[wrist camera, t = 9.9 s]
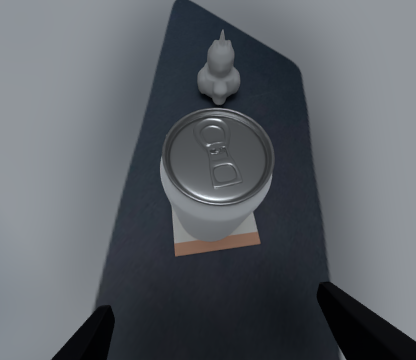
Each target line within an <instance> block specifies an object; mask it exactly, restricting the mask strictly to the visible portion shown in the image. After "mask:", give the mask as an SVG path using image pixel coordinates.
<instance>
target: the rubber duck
mask: <svg viewBox="0 0 416 360" xmlns="http://www.w3.org/2000/svg"><path fill="white" fill-rule="evenodd" d="M233 61H234V50H233V48H232V46H231V42H230V40H228V41H225V37H224V31H223V30H222V32H221V36H220V40H215V41H214V42H213V44H212V46H211V47H210V48H209V50H208V59H207V63H206V64H205V66H204V68H202V69H201V70H200V71H199V73H198V88H199V91H200V92H201V93H202V94H206V95H207V96H209V97H211V98H212V99H213V102H214V103H215V104H217V105H222V104H223V103H224V102H225V100H226V97H228V96H230V95H231V94H235V93H236V92H237V91H238V89H239V86H240V76H239V73H238V71H237V70H236V69H235V68H234V67H233Z"/></svg>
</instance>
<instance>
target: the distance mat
mask: <svg viewBox="0 0 416 360" xmlns="http://www.w3.org/2000/svg"><path fill="white" fill-rule="evenodd" d="M172 216H173V230H174V245H175V256H182V255H189V254H195V253H202V252H209V251H216V250H222V249H229V248H236V247H242V246H249V245H256V244H260V239H259V235H258V231H257V227H256V223H255V218H254V214H253V212H252V213H251V214H250V215H249V216H248V217H247V218H246V219H245V220H244V221H243V222H242V223H241V224H240V225H239V226H238V227H237V228H236V229H235V230H234V231H233V232H232V233H231V234H230V235H228V236H227V237H225V238H224V239H221V240H218V241H213V242H206V241H201V240H198V239H196V238H194V237H192V236H191V235H190V234H188V233H187V232H186V231H185V229H184V228H183V226H182V225H181V223H180V221H179V219H178V217H177V215H176V213H175V211H174V209H173V207H172Z"/></svg>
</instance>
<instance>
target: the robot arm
mask: <svg viewBox="0 0 416 360" xmlns="http://www.w3.org/2000/svg"><path fill="white" fill-rule="evenodd" d="M317 300H318V303H319V305H320V307H321V309H322V312H323V314H324V316H325V318H326V320H327V323H328V325H329V327H330V329H331V331H332V334H333V336H334V338H335V340H336V342H337V344H338V346H339V347H340V349H341V351H342V353H343V355H344V356H345V358H346V360H416V341H414V340H413V339H412V338H410V337H409V336H407V335H406V334H404V333H403V332H402V331H400V330H399V329H397V328H396V327H394V326H393V325H391V324H390V323H389V322H387V321H386V320H384V319H383V318H381V317H380V316H378V315H377V314H376V313H374V312H373V311H371V310H370V309H368V308H367V307H366V306H364V305H363V304H361V303H360V302H358V301H357V300H356V299H354V298H353V297H351V296H350V295H348V294H347V293H345V292H344V291H343V290H341V289H340V288H338V287H337V286H335V285H334V284H333V283H331V282H321V283H320V284H319V287H318V291H317ZM114 323H115V318H114V314H113V311H112V308H111V306H110V305H103V306H99V307H98V308H97V309H96V310H95V311H94V312H93V314H92V315H91V316H90V317H89V318H88V319H87V320H86V321H85V323H84V324H83V325H82V326H81V327H80V328H79V329H78V330H77V331H76V332H75V334H74V335H73V336H72V337H71V338H70V339H69V340H68V341H67V343H66V344H65V345H64V346H63V347H62V348H61V349H60V351H59V352H58V353H57V354H56V355H55V356H54V357H53V358H52V360H107V356H108V351H109V347H110V342H111V338H112V333H113V328H114Z"/></svg>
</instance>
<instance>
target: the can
mask: <svg viewBox="0 0 416 360" xmlns="http://www.w3.org/2000/svg"><path fill="white" fill-rule="evenodd" d="M273 167H274V150H273V146H272V143H271V141H270V138H269V137H268V135H267V133H266V132H265V131H264V129H263V128H262V127H261V126H260V125H259V124H258V123H257V122H256V121H254V120H253V119H252V118H250V117H248V116H247V115H245V114H243V113H240V112H238V111H235V110H231V109H226V108H206V109H201V110H198V111H195V112H192V113H190V114H188V115H186V116H184V117H183V118H181V119H180V120H179V121H178V122H177V123H176V124H175V125H174V126H173V127H172V128H171V129H170V131H169V132H168V134H167V136H166V138H165V141H164V144H163V149H162V158H161V164H160V175H161V180H162V184H163V187H164V190H165V192H166V194H167V197H168V199H169V201H170V203H171V205H172V207H173V209H174V211H175V213H176V215H177V217H178V219H179V221H180V223H181V225H182V226H183V228H184V229H185V231H186V232H187V233H188V234H190V235H191V236H192V237H194V238H196V239H198V240H201V241H206V242H213V241H218V240H221V239H224V238H225V237H227V236H228V235H230V234H231V233H232V232H233V231H234V230H235V229H236V228H237V227H238V226H239V225H240V224H241V223H242V222H243V221H244V220H245V219H246V218H247V217H248V216H249V215H250V214H251V213H252V212H253V211H254V210H255V209H256V208H257V207H258V205H259V204H260V203H261V202H262V200H263V199H264V197H265V196H266V194H267V192H268V190H269V187H270V184H271V179H272V171H273Z"/></svg>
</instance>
